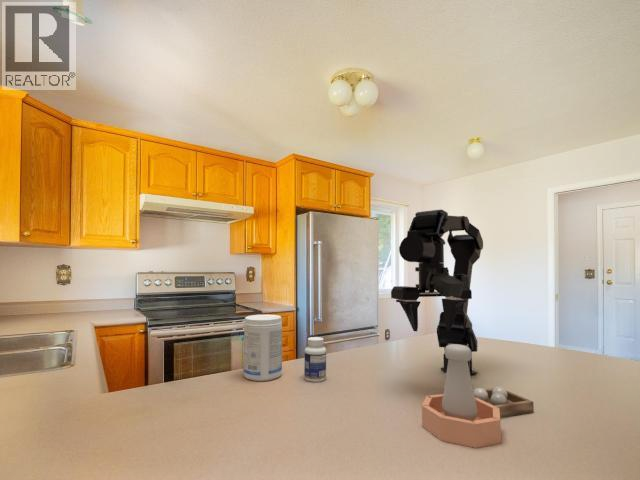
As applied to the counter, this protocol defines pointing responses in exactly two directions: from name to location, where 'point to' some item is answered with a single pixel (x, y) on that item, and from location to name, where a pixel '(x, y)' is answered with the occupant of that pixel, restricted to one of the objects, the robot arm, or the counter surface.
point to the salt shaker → (458, 384)
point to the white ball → (500, 391)
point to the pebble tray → (512, 405)
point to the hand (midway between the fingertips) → (432, 330)
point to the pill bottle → (315, 360)
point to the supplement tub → (262, 347)
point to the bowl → (462, 424)
